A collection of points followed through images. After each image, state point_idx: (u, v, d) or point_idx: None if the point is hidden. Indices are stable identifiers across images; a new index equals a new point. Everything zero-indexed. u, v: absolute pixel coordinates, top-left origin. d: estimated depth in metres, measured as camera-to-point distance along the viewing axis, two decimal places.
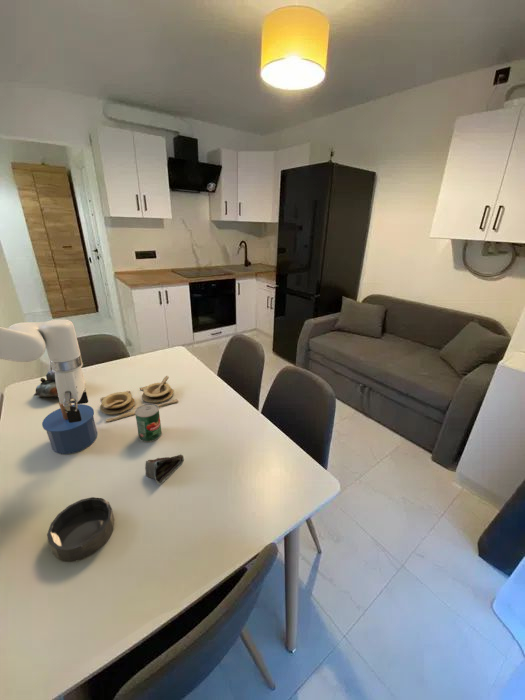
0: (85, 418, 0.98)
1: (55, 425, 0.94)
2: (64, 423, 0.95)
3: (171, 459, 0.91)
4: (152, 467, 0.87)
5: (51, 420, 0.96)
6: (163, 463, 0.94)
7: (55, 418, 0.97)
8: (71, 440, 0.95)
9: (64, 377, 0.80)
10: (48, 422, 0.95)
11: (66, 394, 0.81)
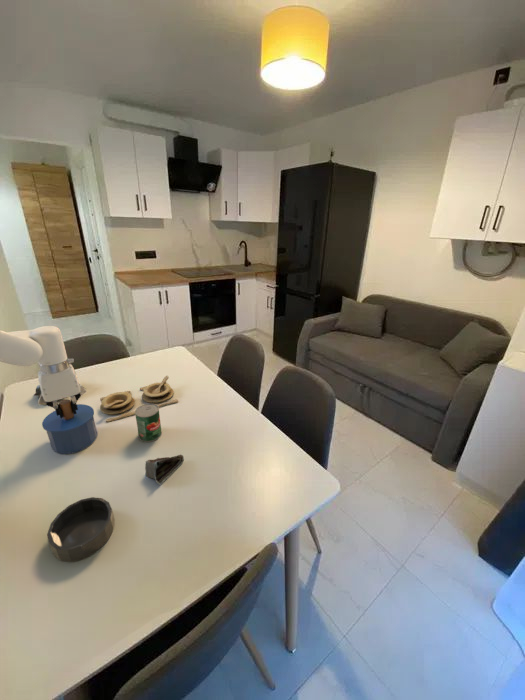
0: (85, 418, 0.98)
1: (55, 425, 0.94)
2: (64, 423, 0.95)
3: (171, 459, 0.91)
4: (152, 467, 0.87)
5: (51, 420, 0.96)
6: (163, 463, 0.94)
7: (55, 418, 0.97)
8: (71, 440, 0.95)
9: (38, 376, 0.89)
10: (48, 422, 0.95)
11: (41, 393, 0.91)
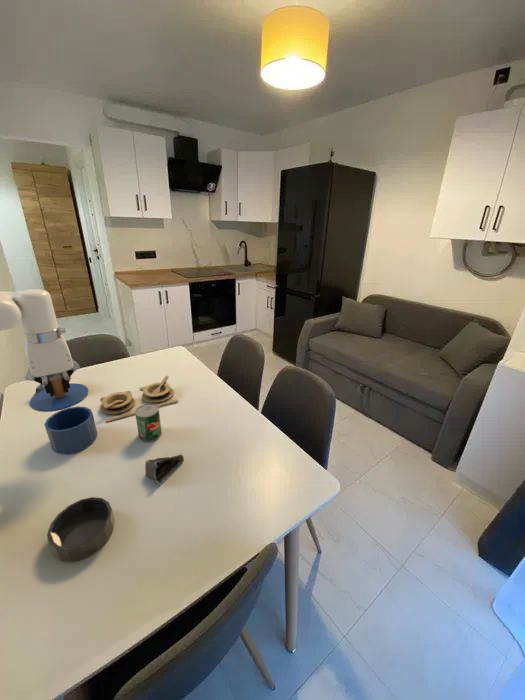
0: (79, 397, 0.87)
1: (44, 404, 0.83)
2: (55, 401, 0.84)
3: (171, 459, 0.91)
4: (152, 467, 0.87)
5: (40, 399, 0.85)
6: (163, 463, 0.94)
7: (45, 397, 0.86)
8: (71, 440, 0.95)
9: (25, 347, 0.78)
10: (36, 401, 0.84)
11: None
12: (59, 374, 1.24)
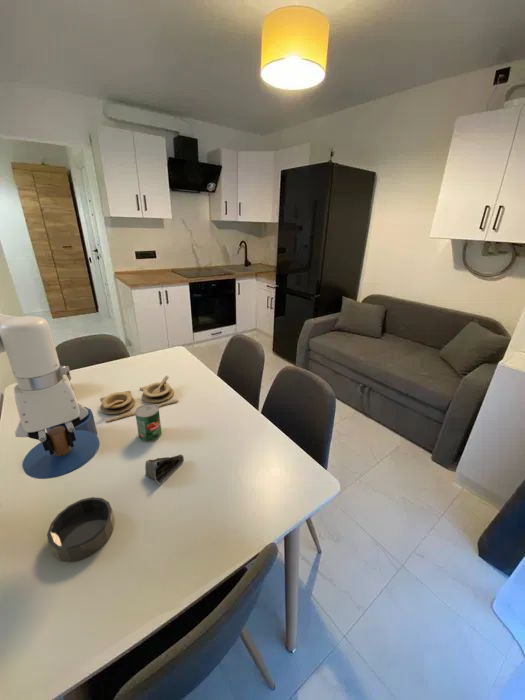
0: (87, 453, 0.66)
1: (42, 466, 0.62)
2: (56, 462, 0.64)
3: (171, 459, 0.91)
4: (152, 467, 0.87)
5: (36, 458, 0.65)
6: (163, 463, 0.94)
7: (43, 454, 0.66)
8: None
9: (15, 394, 0.57)
10: (32, 461, 0.64)
11: None
12: None
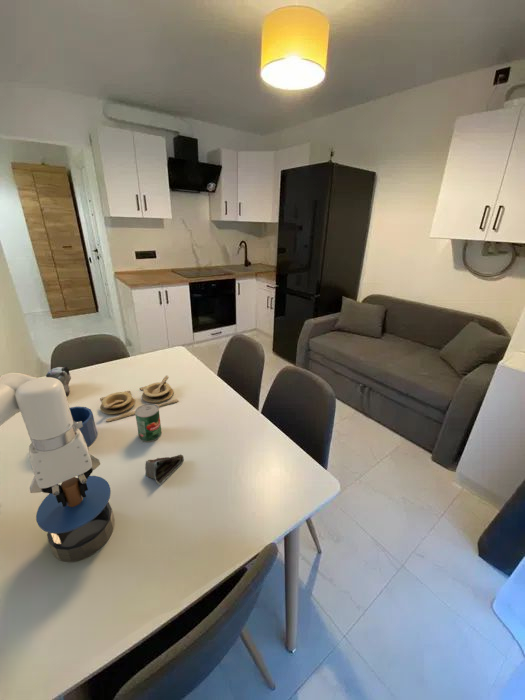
0: (99, 503, 0.67)
1: (55, 519, 0.64)
2: (69, 513, 0.65)
3: (171, 459, 0.91)
4: (152, 467, 0.87)
5: (50, 509, 0.66)
6: (163, 463, 0.94)
7: (56, 505, 0.67)
8: None
9: None
10: (45, 513, 0.65)
11: (35, 475, 0.61)
12: (59, 374, 1.24)
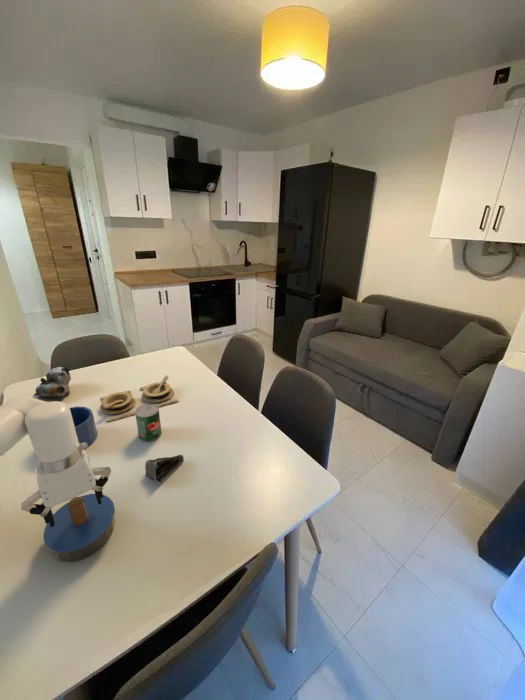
0: (103, 522, 0.70)
1: (62, 538, 0.66)
2: (75, 532, 0.68)
3: (171, 459, 0.91)
4: (152, 467, 0.87)
5: (56, 528, 0.68)
6: (163, 463, 0.94)
7: (62, 524, 0.69)
8: None
9: (36, 474, 0.61)
10: (52, 532, 0.67)
11: (36, 492, 0.62)
12: (59, 374, 1.24)
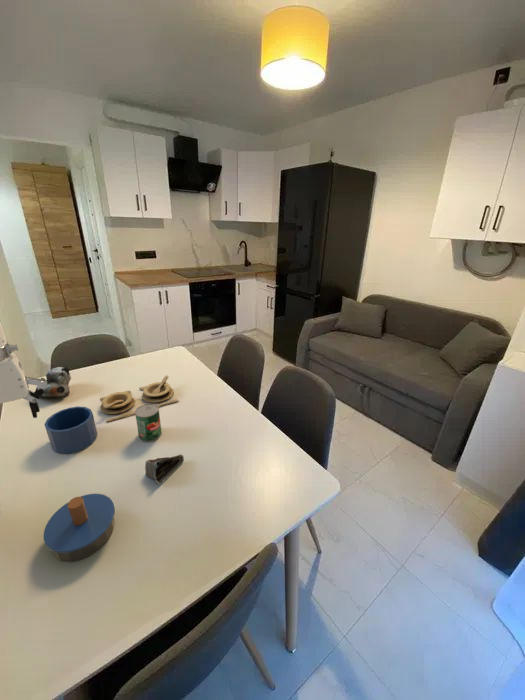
0: (103, 522, 0.70)
1: (62, 538, 0.66)
2: (75, 532, 0.68)
3: (171, 459, 0.91)
4: (152, 467, 0.87)
5: (56, 528, 0.68)
6: (163, 463, 0.94)
7: (62, 524, 0.69)
8: (71, 440, 0.95)
9: None
10: (52, 532, 0.67)
11: None
12: (59, 374, 1.24)
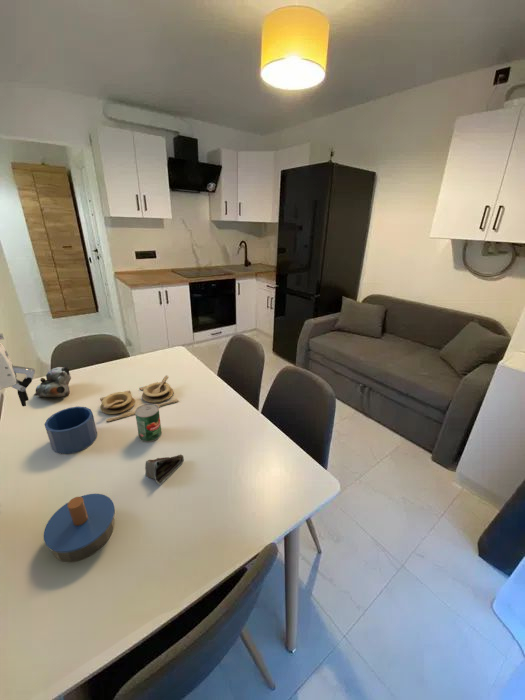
0: (103, 522, 0.70)
1: (62, 538, 0.66)
2: (75, 532, 0.68)
3: (171, 459, 0.91)
4: (152, 467, 0.87)
5: (56, 528, 0.68)
6: (163, 463, 0.94)
7: (62, 524, 0.69)
8: (71, 440, 0.95)
9: None
10: (52, 532, 0.67)
11: None
12: (59, 374, 1.24)
